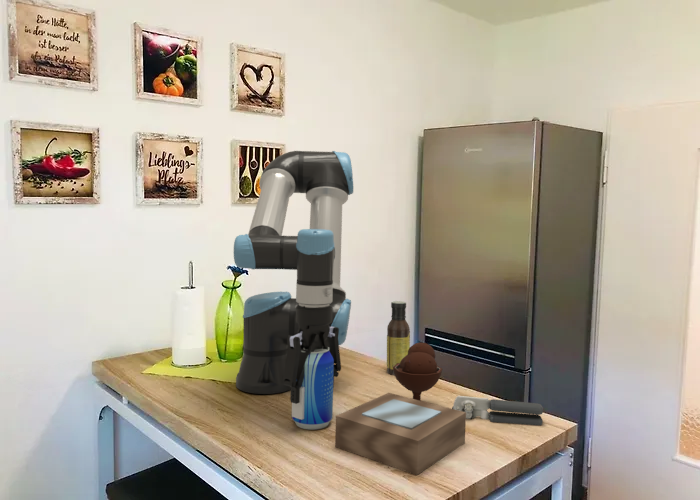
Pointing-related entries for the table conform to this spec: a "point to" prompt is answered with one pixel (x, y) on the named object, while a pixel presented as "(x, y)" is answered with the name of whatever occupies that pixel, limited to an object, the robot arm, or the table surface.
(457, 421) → the walnut plinth
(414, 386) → the ice cream bowl
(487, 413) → the can opener
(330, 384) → the beer can
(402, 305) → the sauce bottle
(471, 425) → the table surface
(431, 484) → the table surface
